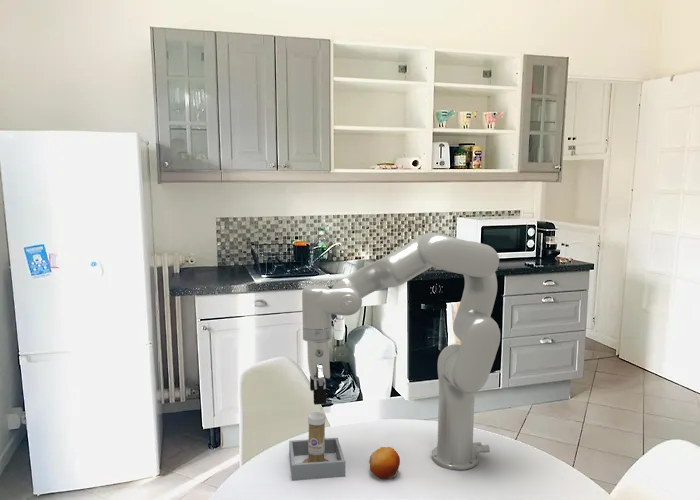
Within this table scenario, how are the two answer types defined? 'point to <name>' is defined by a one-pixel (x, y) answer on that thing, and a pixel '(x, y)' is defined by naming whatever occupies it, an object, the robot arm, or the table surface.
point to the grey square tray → (316, 468)
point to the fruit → (384, 463)
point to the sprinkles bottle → (316, 437)
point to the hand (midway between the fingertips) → (318, 396)
